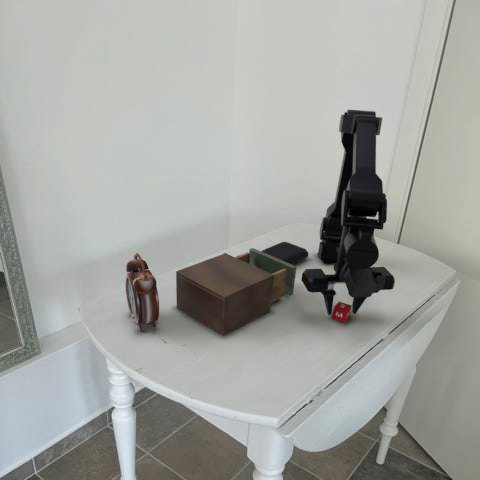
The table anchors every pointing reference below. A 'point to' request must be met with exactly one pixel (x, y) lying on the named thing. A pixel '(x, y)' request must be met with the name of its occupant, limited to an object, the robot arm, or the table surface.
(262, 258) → the drawer
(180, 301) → the cabinet
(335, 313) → the red letter m cube
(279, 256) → the carrying case
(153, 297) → the alarm clock
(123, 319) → the table surface
